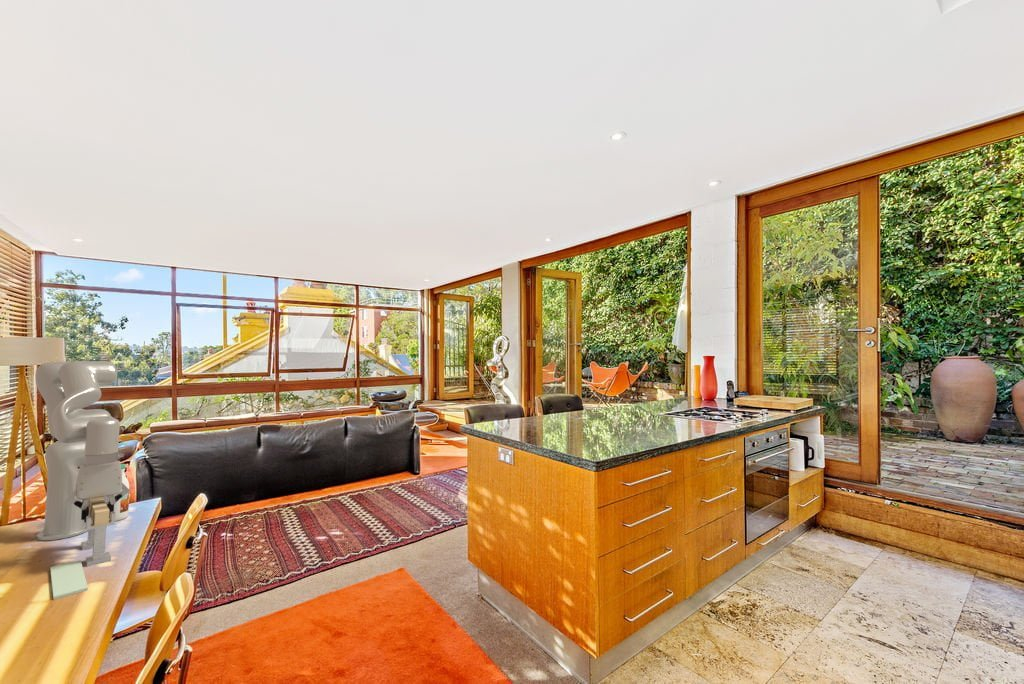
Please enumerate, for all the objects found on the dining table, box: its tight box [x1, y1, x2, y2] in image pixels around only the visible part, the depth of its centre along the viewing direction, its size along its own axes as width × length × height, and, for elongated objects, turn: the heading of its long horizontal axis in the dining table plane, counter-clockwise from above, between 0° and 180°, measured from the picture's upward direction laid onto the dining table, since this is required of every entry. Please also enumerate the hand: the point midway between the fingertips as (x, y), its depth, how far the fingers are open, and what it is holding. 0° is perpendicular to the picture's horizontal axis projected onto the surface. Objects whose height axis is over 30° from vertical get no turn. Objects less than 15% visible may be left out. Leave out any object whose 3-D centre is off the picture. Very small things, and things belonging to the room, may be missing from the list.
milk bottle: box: [103, 463, 130, 522], centre depth 159 cm, size 8×8×20 cm
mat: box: [49, 559, 89, 600], centre depth 114 cm, size 23×6×1 cm, turn 49°
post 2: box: [84, 511, 116, 567], centre depth 126 cm, size 5×6×13 cm
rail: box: [88, 497, 110, 527], centre depth 131 cm, size 22×3×4 cm, turn 49°
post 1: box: [80, 500, 109, 551], centre depth 136 cm, size 5×6×13 cm
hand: (97, 518), depth 131 cm, fingers open, 4 cm apart
